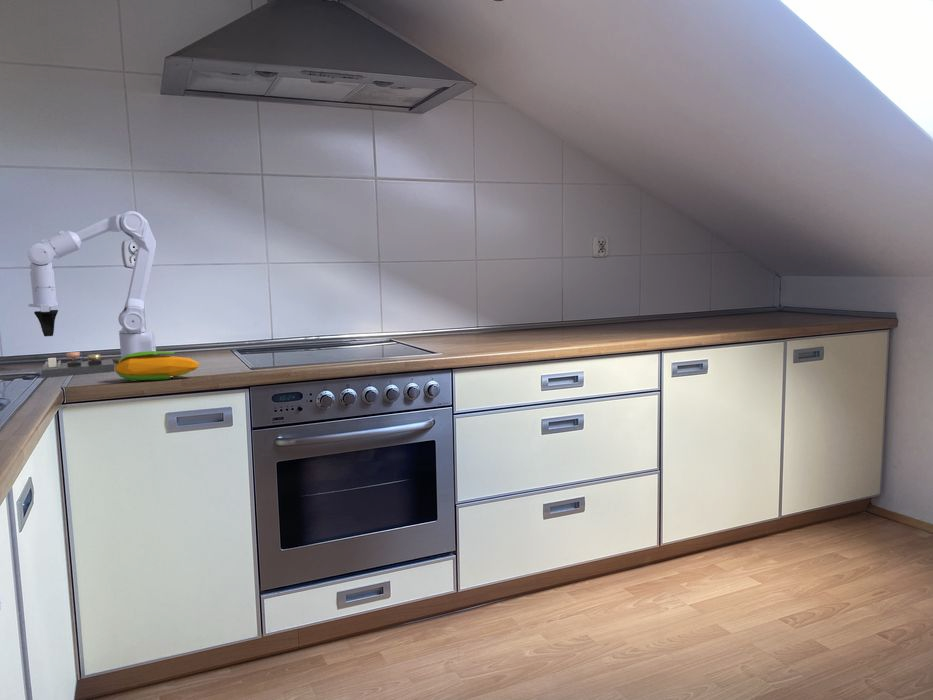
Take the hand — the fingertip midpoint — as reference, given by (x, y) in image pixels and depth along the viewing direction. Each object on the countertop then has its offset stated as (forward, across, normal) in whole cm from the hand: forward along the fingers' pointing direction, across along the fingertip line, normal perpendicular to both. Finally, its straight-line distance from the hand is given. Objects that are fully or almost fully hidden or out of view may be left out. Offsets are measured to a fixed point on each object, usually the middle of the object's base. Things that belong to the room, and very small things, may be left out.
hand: (48, 336), depth 195 cm
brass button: (+7, +10, +11) cm, 16 cm away
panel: (+9, +10, +7) cm, 15 cm away
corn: (+10, +36, +24) cm, 45 cm away
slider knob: (+7, +12, +1) cm, 14 cm away
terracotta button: (+6, +10, +6) cm, 13 cm away
